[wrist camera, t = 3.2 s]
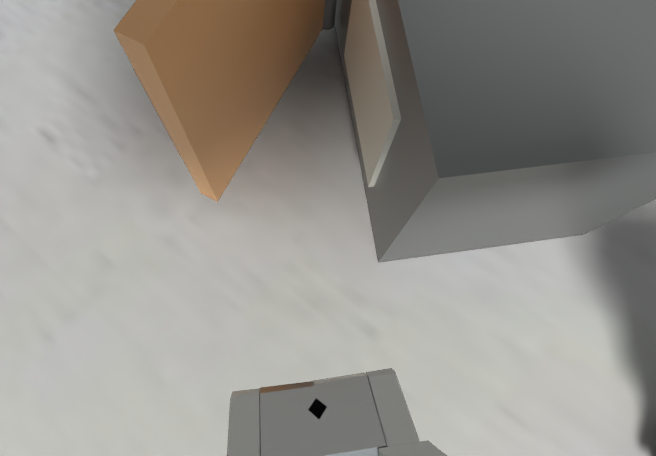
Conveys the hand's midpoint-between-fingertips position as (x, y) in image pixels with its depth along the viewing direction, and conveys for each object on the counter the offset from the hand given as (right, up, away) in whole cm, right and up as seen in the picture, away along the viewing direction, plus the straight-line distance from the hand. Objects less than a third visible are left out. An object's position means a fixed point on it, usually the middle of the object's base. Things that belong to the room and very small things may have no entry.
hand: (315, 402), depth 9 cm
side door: (-3, +11, +19) cm, 22 cm away
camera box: (+8, +10, +20) cm, 24 cm away
